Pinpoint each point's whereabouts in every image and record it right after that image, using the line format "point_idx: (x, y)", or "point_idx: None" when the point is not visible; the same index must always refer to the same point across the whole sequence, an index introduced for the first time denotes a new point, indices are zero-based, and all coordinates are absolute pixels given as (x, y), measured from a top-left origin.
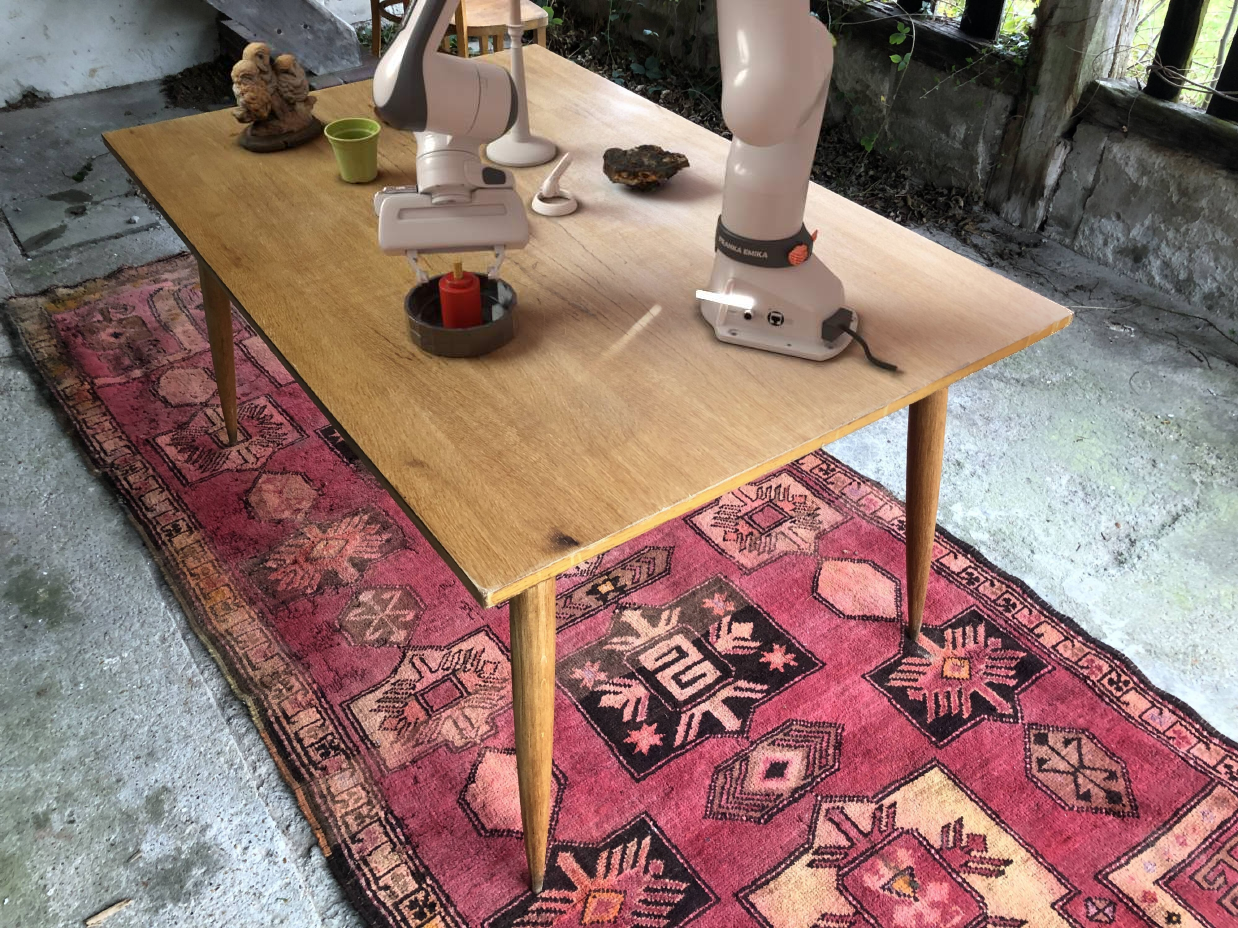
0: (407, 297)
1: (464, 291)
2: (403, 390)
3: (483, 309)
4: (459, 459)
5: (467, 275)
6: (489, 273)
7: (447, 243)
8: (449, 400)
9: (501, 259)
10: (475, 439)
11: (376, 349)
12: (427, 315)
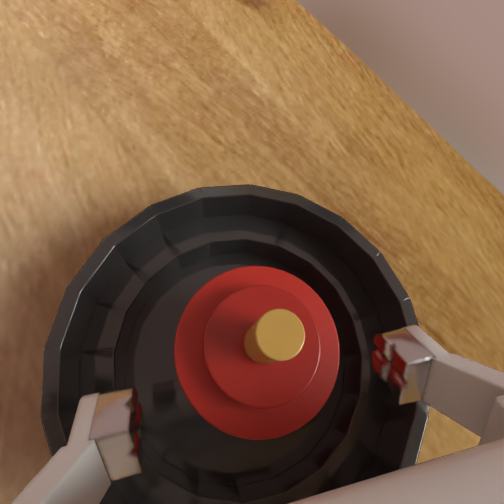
0: None
1: (226, 272)
2: (317, 146)
3: (192, 458)
4: (192, 3)
5: (225, 357)
6: (122, 402)
7: (387, 488)
8: (229, 119)
9: (27, 488)
10: (172, 35)
11: (411, 269)
12: (344, 395)
